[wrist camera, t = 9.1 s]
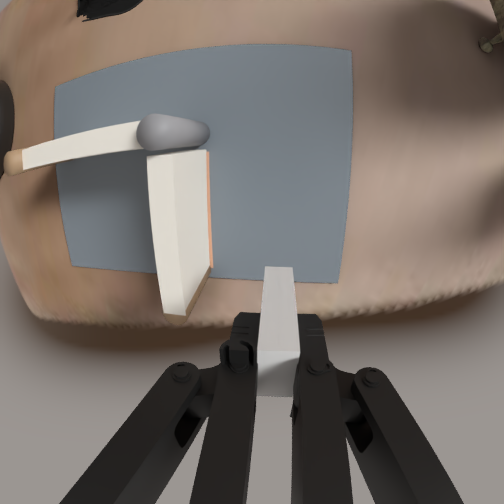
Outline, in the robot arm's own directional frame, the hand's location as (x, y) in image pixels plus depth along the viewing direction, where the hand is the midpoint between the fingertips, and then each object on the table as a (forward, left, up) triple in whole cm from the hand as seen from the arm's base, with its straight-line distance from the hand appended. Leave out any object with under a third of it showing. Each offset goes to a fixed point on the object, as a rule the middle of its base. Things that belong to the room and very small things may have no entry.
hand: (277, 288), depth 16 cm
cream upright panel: (-7, +2, -8) cm, 10 cm away
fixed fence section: (-14, +9, -8) cm, 18 cm away
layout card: (-9, +6, -8) cm, 13 cm away
